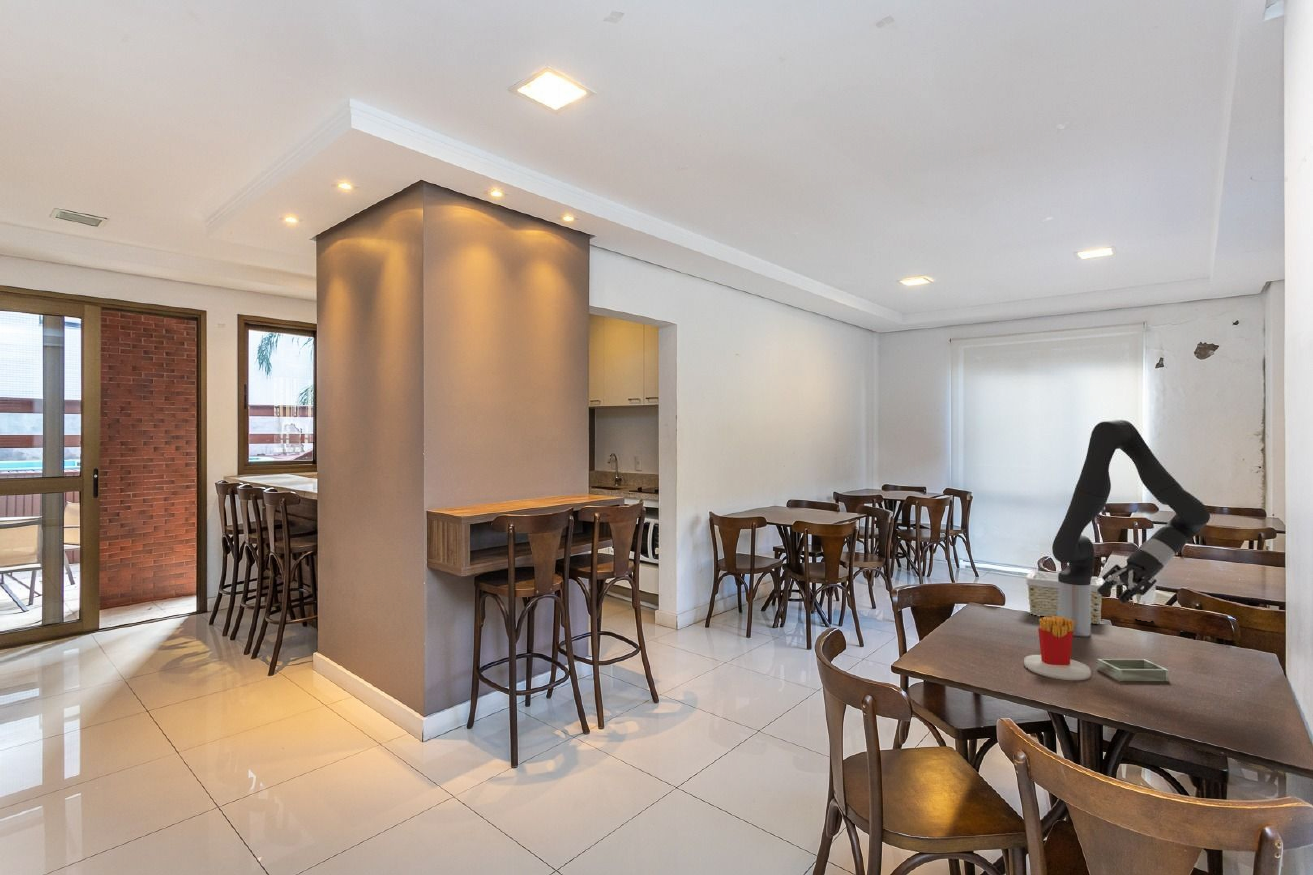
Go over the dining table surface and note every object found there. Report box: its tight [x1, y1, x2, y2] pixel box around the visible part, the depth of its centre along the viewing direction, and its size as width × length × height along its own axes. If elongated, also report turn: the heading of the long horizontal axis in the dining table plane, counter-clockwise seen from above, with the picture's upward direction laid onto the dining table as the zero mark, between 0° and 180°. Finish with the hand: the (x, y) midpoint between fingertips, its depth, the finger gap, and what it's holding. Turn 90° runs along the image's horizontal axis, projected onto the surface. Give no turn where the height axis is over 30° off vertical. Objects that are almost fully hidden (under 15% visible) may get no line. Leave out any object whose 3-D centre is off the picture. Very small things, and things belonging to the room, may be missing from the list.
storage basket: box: [1025, 570, 1105, 625], centre depth 231 cm, size 24×16×15 cm
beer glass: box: [1131, 583, 1157, 605], centre depth 225 cm, size 7×7×15 cm
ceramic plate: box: [1023, 654, 1092, 681], centre depth 177 cm, size 16×16×2 cm
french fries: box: [1037, 616, 1075, 665], centre depth 179 cm, size 9×4×13 cm, turn 85°
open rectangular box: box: [1096, 658, 1170, 682], centre depth 173 cm, size 9×14×3 cm, turn 89°
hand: (1110, 597), depth 178 cm, fingers open, 8 cm apart
